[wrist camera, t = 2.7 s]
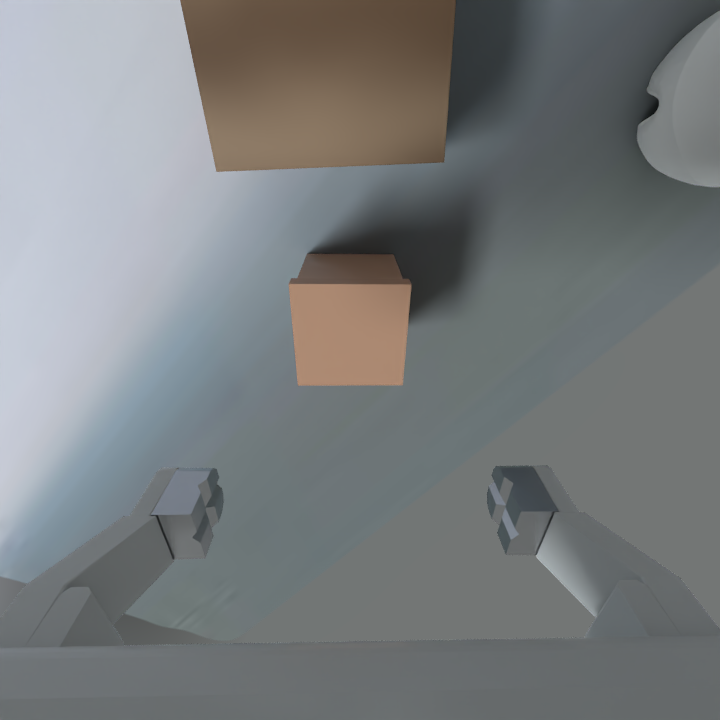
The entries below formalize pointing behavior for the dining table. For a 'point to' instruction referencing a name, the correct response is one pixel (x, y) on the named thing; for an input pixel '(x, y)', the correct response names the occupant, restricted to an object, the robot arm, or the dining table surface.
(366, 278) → the brown cardboard box
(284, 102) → the walnut box
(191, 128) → the dining table surface
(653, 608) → the robot arm
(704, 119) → the water bottle
